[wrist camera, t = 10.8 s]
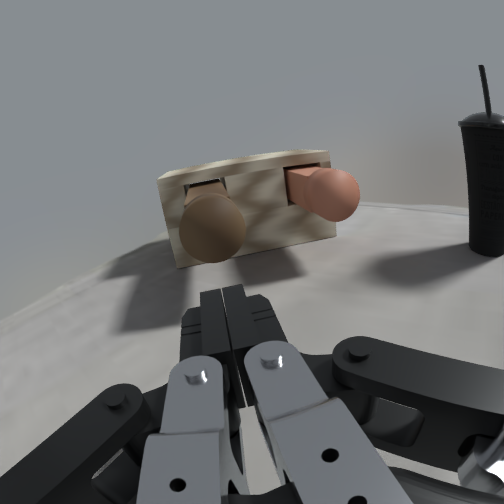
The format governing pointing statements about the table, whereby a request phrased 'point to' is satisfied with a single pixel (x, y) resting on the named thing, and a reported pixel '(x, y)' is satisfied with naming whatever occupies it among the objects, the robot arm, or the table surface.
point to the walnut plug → (211, 223)
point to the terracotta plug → (322, 191)
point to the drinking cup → (485, 176)
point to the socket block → (250, 201)
